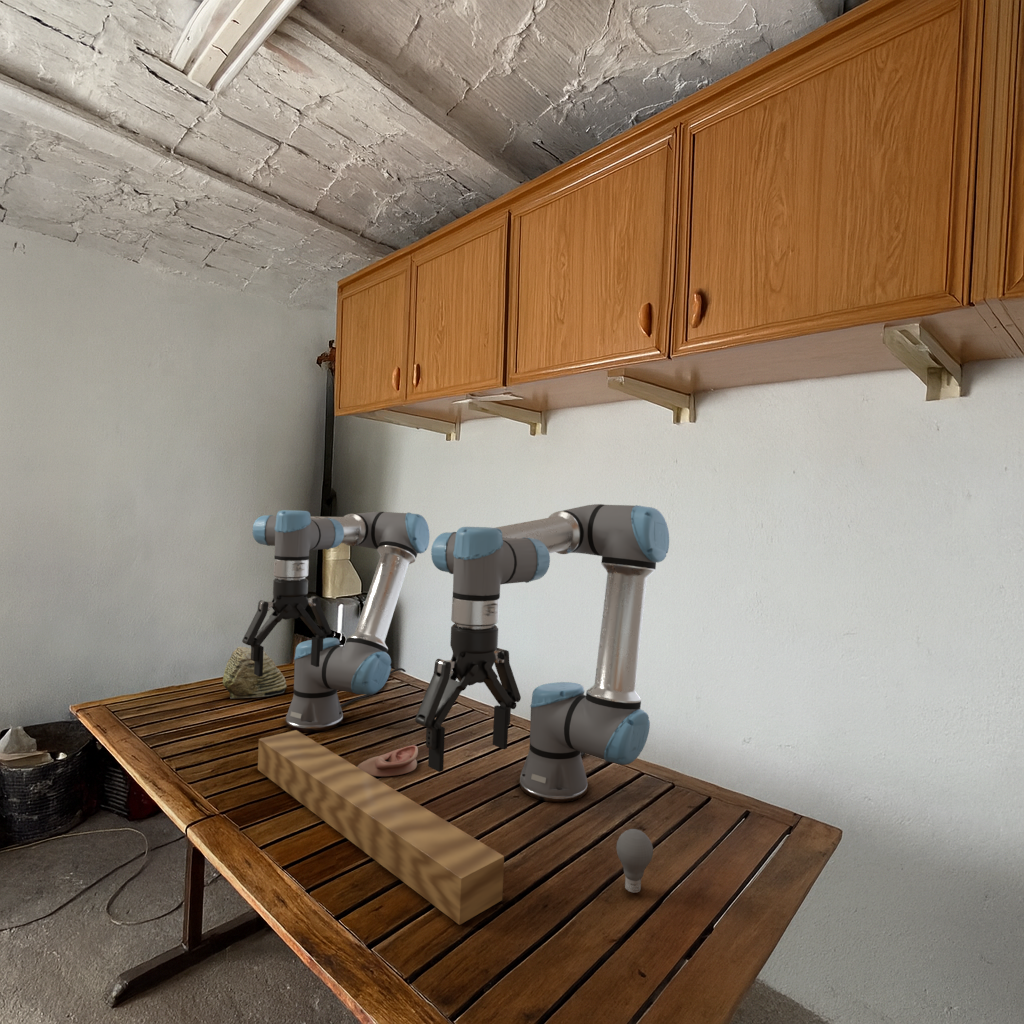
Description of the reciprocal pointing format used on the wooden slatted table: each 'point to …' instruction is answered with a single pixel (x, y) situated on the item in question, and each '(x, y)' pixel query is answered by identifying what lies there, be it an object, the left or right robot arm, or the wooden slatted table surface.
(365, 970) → the wooden slatted table surface
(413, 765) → the anatomical model
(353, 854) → the wooden slatted table surface
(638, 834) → the light bulb
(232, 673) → the fossil
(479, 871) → the long beam
